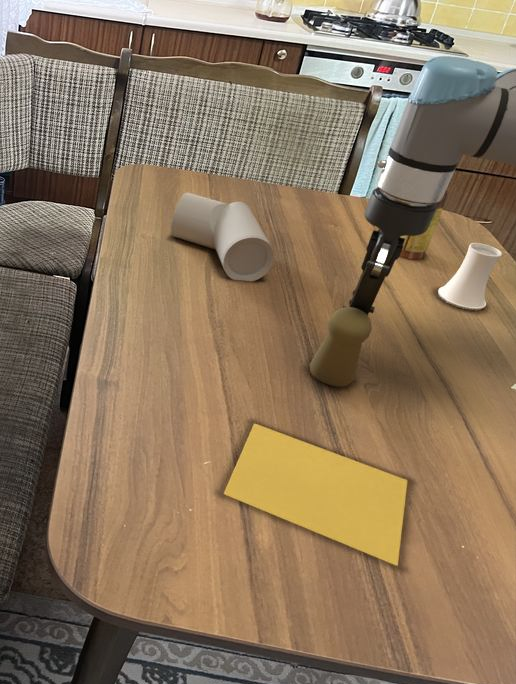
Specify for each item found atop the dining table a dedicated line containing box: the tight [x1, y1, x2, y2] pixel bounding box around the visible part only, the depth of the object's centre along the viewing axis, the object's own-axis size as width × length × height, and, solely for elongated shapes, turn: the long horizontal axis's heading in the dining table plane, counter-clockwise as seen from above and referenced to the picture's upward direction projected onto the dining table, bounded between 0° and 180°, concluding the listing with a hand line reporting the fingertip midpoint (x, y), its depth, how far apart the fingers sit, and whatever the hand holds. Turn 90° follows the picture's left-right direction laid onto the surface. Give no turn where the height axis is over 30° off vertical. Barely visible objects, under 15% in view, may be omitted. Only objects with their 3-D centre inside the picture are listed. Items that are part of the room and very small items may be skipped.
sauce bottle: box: [399, 188, 448, 261], centre depth 127 cm, size 6×6×20 cm
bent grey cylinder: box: [170, 192, 275, 282], centre depth 121 cm, size 18×10×20 cm
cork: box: [309, 306, 373, 387], centre depth 91 cm, size 6×6×11 cm
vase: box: [437, 242, 503, 312], centre depth 115 cm, size 8×8×10 cm
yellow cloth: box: [223, 422, 408, 567], centre depth 77 cm, size 18×14×1 cm
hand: (340, 351), depth 97 cm, fingers closed
